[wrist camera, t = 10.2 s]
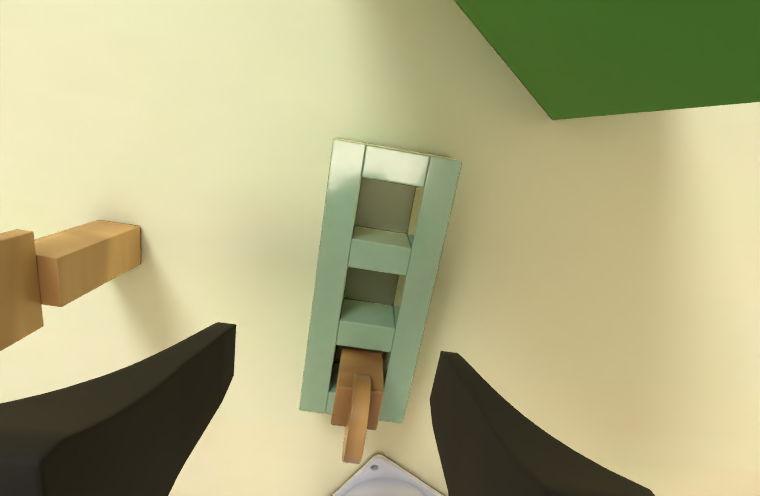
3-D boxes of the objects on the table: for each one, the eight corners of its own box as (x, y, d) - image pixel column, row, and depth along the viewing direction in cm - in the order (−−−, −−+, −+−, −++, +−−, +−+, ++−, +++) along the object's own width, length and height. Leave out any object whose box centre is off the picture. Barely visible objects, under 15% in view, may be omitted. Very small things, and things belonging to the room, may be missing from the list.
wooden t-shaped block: (101, 274, 23) (-51, 352, 15) (97, 201, 21) (-73, 241, 13) (141, 280, 23) (12, 360, 15) (139, 207, 21) (-3, 252, 13)
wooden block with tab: (338, 368, 25) (322, 480, 17) (347, 315, 24) (333, 409, 16) (373, 372, 25) (373, 486, 17) (383, 320, 24) (389, 416, 16)
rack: (307, 379, 25) (298, 410, 22) (338, 138, 21) (333, 138, 18) (399, 391, 26) (402, 423, 23) (450, 157, 21) (462, 161, 18)
